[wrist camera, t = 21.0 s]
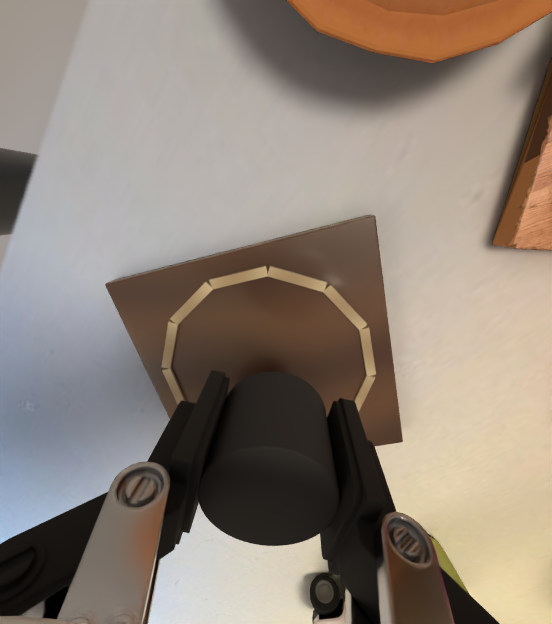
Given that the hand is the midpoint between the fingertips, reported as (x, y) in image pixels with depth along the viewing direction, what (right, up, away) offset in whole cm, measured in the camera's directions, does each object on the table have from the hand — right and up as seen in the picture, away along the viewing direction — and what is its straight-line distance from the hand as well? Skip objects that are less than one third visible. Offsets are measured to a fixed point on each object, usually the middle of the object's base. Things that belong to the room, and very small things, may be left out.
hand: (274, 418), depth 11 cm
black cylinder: (0, 0, 0) cm, 0 cm away
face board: (0, +1, +9) cm, 9 cm away
